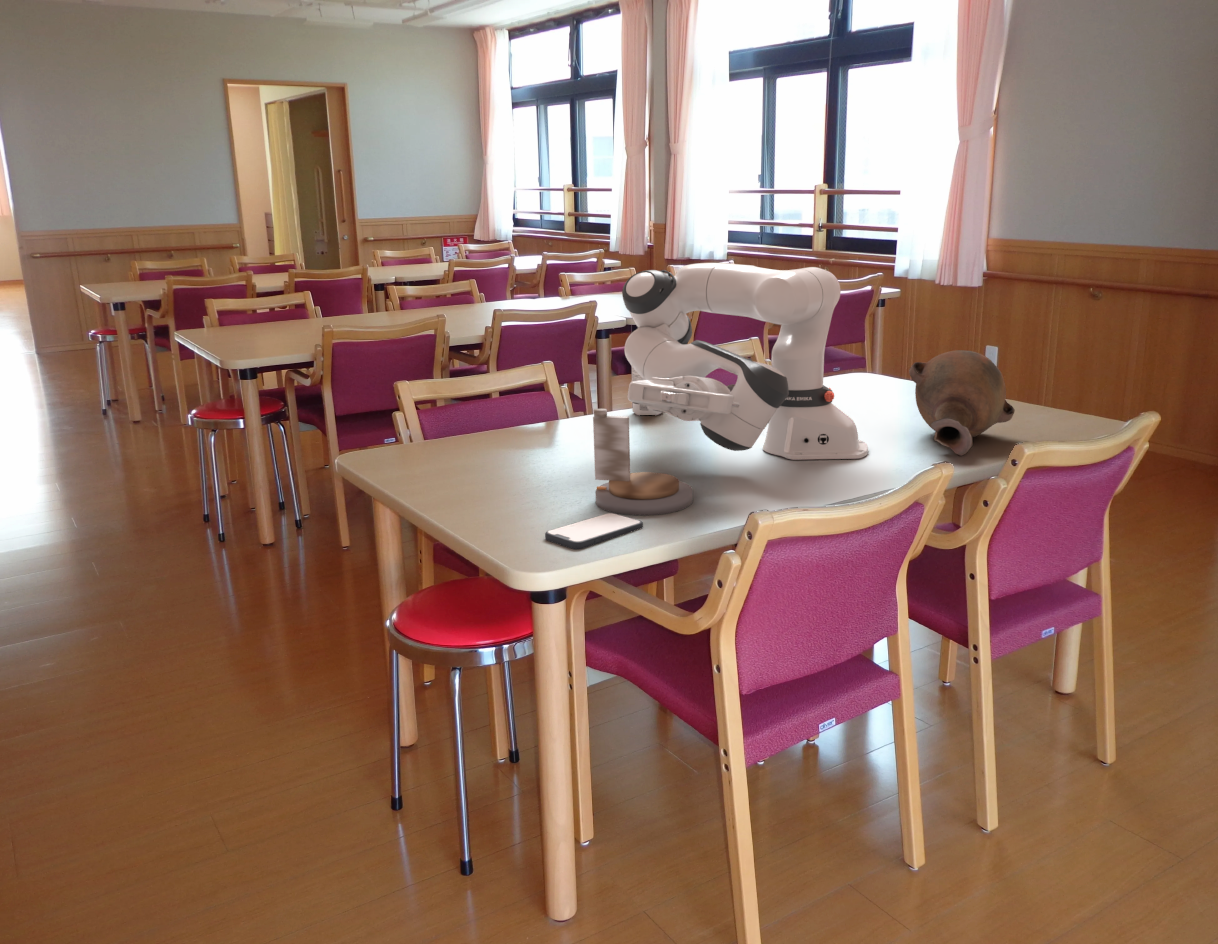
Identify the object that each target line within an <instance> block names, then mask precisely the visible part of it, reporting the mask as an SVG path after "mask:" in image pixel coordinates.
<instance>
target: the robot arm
mask: <svg viewBox="0 0 1218 944" xmlns="http://www.w3.org/2000/svg"><path fill="white" fill-rule="evenodd" d="M621 294H622V300H623V303H624V306H625V308H626V309H627V311H628V312H629V314H630V316H631V318H632V320H633V321H634V323H635V325H636V327H637V328H636V329H635V330H633V331H632V332H631V333H630V334H629V335H628V337H627V338H626V340H625V344H624V355H625V358H626V360H627V361H628V363H629V364H630V366H631V368H632V367H633V368H634V369H635V370H636V372H637V373H638V374H639V375H640V376H641V377H642V378H643V379H644V380H640V381H632V380H631V381H630V383H629V385H628V390H627V399H628V401H629V402H631V403H632V402H634V403H638V404H641V405H645V406H647V408H648V409H652V410H655V411H660V412H662V413H663V414H668V415H670V416H672V417H674V418H678V419H679V420H681V421H686V422H700V423H699V425H700V427H701V430H702V432H703V434H704V435H705V436H706V437H707V438H708V439H709V440H711V441H712V442H714V443H715V444H717V445H718V446H720V447H722V448H724V449H725V450H729V451H734V452H740V451H741V452H743V451H747V450H750V449H752V448H753V446H754V445H755V444H756V442H757V440H758V439H759V438H760V436H761V434H762V432H763V431H764V430H765V429H766V427H767V431H766V435H765V439H764V442H763V443H764V444H763V445H762V446H763V447H762V450H763V451H764V452H766V453H767V454H771V455H775V456H779V457H783V458H785V459H787V460H794V461H796V460H799V461H800V460H802V461H803V460H841V459H842V460H847V459H848V460H850V459H851V460H852V459H856V460H857V459H863V458H864V457H866V456H867V455H868V454H869V447H868V444H867V443H866V442H865V441H864V440H860V439H859V432H858V430H857V429H858V428H857V425H856V423H855V422H854V420H853V419H852V418H851V417H850V416H849V415H847V414H846V413H845V412H844V411H842V410H841V409H840V408H839V407H837V406H836V405H834V404H833V401H834V399H835V393H834V392H833V390H832V388H830V387H827V386H825V385H824V366H825V350H826V343H827V340H828V334H829V330H830V327H831V321H832V319H833V318H832V317H833V314H834V311H835V308H836V306H837V304H838V302H839V300H840V298H841V284H840V282H839V280H838V278H837V277H836V275H835V274H833V273H832V272H831V271H829V270H827V269H824V268H820V267H818V266H817V267H816V266H809V267H803V268H797V269H795V268H794V269H789V270H788V269H785V270H784V269H782V270H781V269H780V270H779V269H771V268H765V267H759V266H756V265H752V264H751V265H750V264H738V263H728V262H727V263H723V262H700V263H699V262H698V263H690V264H687V265H684V266H681V268H679V269H678V270H677V271H676V273H675V274H673V273H672V272H670V271H668V270H665V269H661V270H656V269H648V270H642V271H639V272H636V273H634V274H633V275H632V276H630V277H629V278H628V279H627V280H626V281H625V282H624V285H623V286H622V291H621ZM695 311H696V312H699V311H700V312H706V313H711V314H720V315H728V316H729V315H730V316H737V317H738V316H739V317H744V318H745V317H747V318H750V319H754V320H758V321H761V322H766V323H771V324H774V325H780V330H779V334H778V336H777V338H776V341H775V343H774V345H773V347H772V349H771V365H769V364H768V363H765V362H764V363H763V362H760V361H754V360H750V359H749V358H747V357H744V356H742V355H740V354H738V353H735V352H733V351H730V350H729V349H726V348H723V347H721V346H719V345H715V344H712V343H709V342H706V341H704V340H699V339H696V340H694V341H692V342H691V343H689V341H690V340H691V339H692V335H693V327H692V323H691V320H690V318H689V316H688V315H687V314H688V313H692V312H695ZM717 369H722V370H724V371H726V372H729V373H731V374H734V375H735V376H737V379H736V382H735V384H734V385H735V386H734V388H733V389H732V391H731V392H730V390H729V389H728V387H727V386H728V385H726V384H724V383H723V382H721V381H720V380H717V379H715V378H710V377H707V376H708V375H709V374H711V373H712V372H714V371H715V370H717Z"/></svg>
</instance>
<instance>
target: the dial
mask: <svg viewBox="0 0 1218 944" xmlns="http://www.w3.org/2000/svg"><path fill="white" fill-rule="evenodd" d="M592 421H593V423H592V424H593V425H592V426H593V450H594V451H593V453H594V455H593V457H594V480H597V481H608V482H609V492H610V493H611V494H613V495H615V496H618V497H621V498H627V499H657V498H663V497H667V496H671V495H673V494H675V493H677V492H678V491H679V481H680V480H679V478H677V476H674V475H672V474H668V473H662V472H654V471H652V472H651V471H642V472H641V471H639V472H631V455H630V453H631V451H630V450H631V449H630V417H629V416H625V415H623V416H620V415H619V416H618V415H617V416H616V415H608V410H607V408H595V409H594V410H593V417H592Z"/></svg>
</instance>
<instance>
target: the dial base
mask: <svg viewBox="0 0 1218 944" xmlns="http://www.w3.org/2000/svg"><path fill="white" fill-rule="evenodd" d="M693 492H694V490H693V487H692V486H691V485H690V484H688V483H686V482H685V481H682V480H681V481H680V480H679V491H678V492H677V493H675V494H673V495H671V496H667V497H663V498H657V499H627V498H621V497H618V496H615V495H613V494H611V493H610V492H609V481H608V482H605V483H603V484H601V485H599V486H596V489H595V490H594V493H595V495H594V496H595V504H596V506H597V507H598V508H599V509H602V510H604V511H607V512H609V513H615V514H618V515H624V516H625V515H626V516H657V515H664V514H665V515H666V514H670V513H671V514H672V513H675V512H678V511H681V510H684V509H687V508H688V507H689V506H691V505H692V504H693V500H694V499H693V498H694V493H693Z"/></svg>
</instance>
